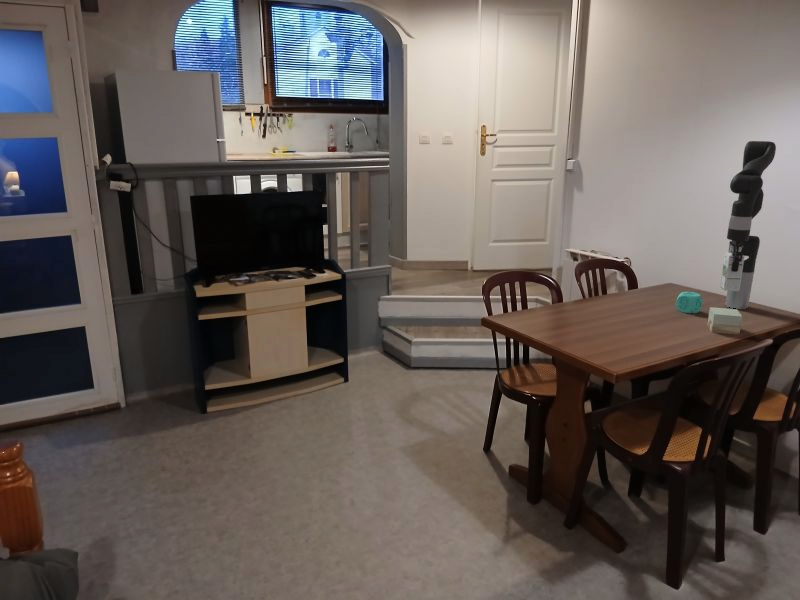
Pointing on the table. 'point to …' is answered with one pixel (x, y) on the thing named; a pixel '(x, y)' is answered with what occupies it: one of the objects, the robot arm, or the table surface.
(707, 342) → the table surface
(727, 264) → the syrup box
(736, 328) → the tower bottom
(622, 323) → the table surface
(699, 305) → the decorative dice
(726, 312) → the tower top
